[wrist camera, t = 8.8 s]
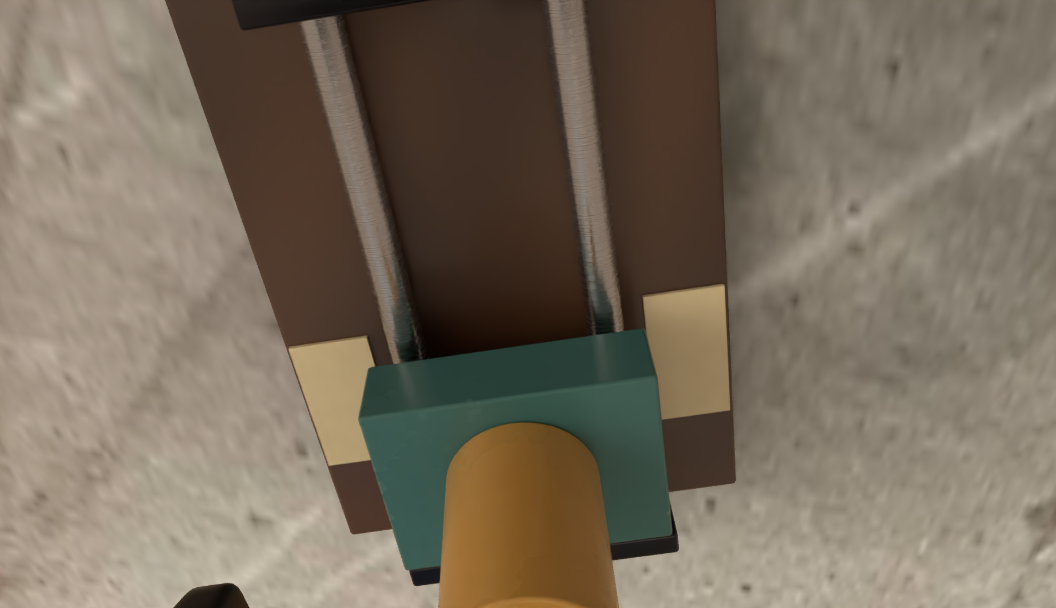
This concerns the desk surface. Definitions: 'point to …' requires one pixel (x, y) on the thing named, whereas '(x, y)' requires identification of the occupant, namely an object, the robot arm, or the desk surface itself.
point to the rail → (477, 197)
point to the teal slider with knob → (521, 467)
